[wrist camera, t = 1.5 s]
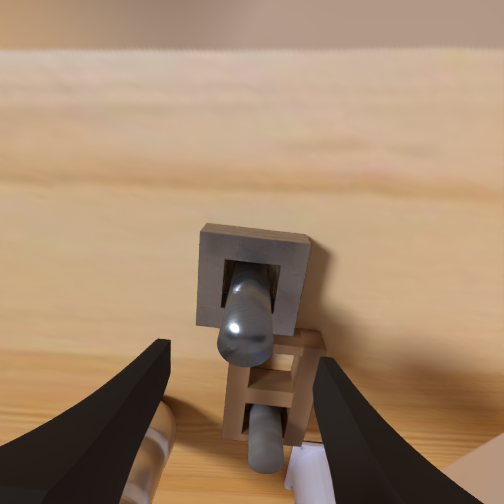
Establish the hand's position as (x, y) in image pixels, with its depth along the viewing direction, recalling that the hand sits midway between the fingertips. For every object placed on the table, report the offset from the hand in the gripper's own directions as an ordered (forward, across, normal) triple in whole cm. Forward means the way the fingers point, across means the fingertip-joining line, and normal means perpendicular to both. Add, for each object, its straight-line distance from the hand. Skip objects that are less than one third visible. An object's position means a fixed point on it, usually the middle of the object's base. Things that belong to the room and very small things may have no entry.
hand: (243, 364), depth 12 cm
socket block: (+10, 0, 0) cm, 10 cm away
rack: (+10, -3, +11) cm, 15 cm away
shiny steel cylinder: (+10, 0, 0) cm, 10 cm away
